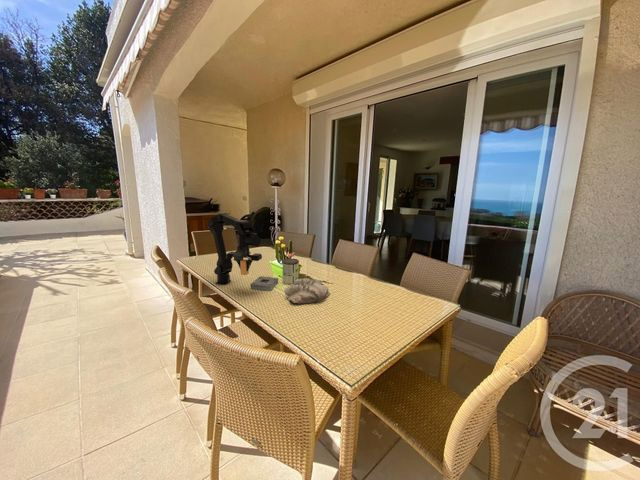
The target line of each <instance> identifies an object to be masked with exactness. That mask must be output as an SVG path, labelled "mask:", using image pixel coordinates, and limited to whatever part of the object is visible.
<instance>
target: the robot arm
mask: <svg viewBox="0 0 640 480" xmlns="http://www.w3.org/2000/svg"><path fill="white" fill-rule="evenodd" d="M225 224H227V225H230V226H232V227H233V229H234V230H235V231H237V232H236V233H235V235H236V236H237V238H238V240H237V242H238V245H237V247H236V250H235V251H233V250H232V251H230V252H228V253H227V249H226V245H225V242H224V241H225V240H224V237H223V231H224V228H225V227H224V225H225ZM207 227H208V230H209V232H210V233H211V234H212V235H213V239H214V240H213V241H214V243H215V248H216V249H215V250H216V255H217V261H216V267H215V268H214V270H213V272H214V275H216V278H217V279H216V280H217V281H216V282H215V284H216V285H224V286H225V285H228V284H229V283H230V282H232V279H231V275H230V273H232V270H233V265H234V264H233V262H232V261H235V262H236V263H237V265H238V267H239V269H240V271H241V268H240V261H241V260H243V259H245V260H246V262H247V271H248V270H250V267H251V265H252V262H259V261H260V260H262V258H263V255H262V253H255V252H254V253H252V252H251V251H250V247H259V246H260V245H261V237H260V236H259V234H258V233H255V232H256V231H255V229H254V228H253V226H252V224H251V221H249V220H246V219H245V220H243V219H238V218H237V217H233V216H231V215H229V214H227V213H225V212H224V213H223V212H221V213H217V215H215V216H213V217H212V218H210V219H208V221H207ZM251 253H252V254H251ZM232 259H233V260H232Z"/></svg>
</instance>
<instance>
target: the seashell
mask: <svg viewBox="0 0 640 480" xmlns="http://www.w3.org/2000/svg"><path fill="white" fill-rule="evenodd" d="M284 295H285V296H287V300H288V301H290V302H291V303H294V304H296V303H297V304H313V303H317V302H321V301H323V300H324V299H327V298H328V297H329V296H330V295H331V292H329V288H328V286H327V285H324V286H323V283H322V281H321V280H320V279H319V280H318V279H313V278H298V279H296V280H295V283H294V285H290V286H287V287H285V288H284ZM327 296H328V297H327Z"/></svg>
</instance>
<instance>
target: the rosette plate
mask: <svg viewBox="0 0 640 480" xmlns="http://www.w3.org/2000/svg"><path fill="white" fill-rule="evenodd" d="M278 283H279V277H273V276H272V277H271V276H264V275H262V276H261V275H259V277H257V278H256V279H254V280H253V281H252V282H251V283H250V287H249V288H250V290H257V291H266V292H267V291H268V292H271V291H272V290H273V289H274V288H275V287H276V286H277V285H278Z"/></svg>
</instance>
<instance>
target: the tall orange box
mask: <svg viewBox="0 0 640 480" xmlns="http://www.w3.org/2000/svg"><path fill="white" fill-rule="evenodd" d="M246 260H247V259H246V258H243V260H241V261H240V267H239V269H240V268H241V270H240V275H242V276H247V275H248V274H250V272H249V270H250V269H249V270H248V271H247V262H246Z"/></svg>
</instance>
